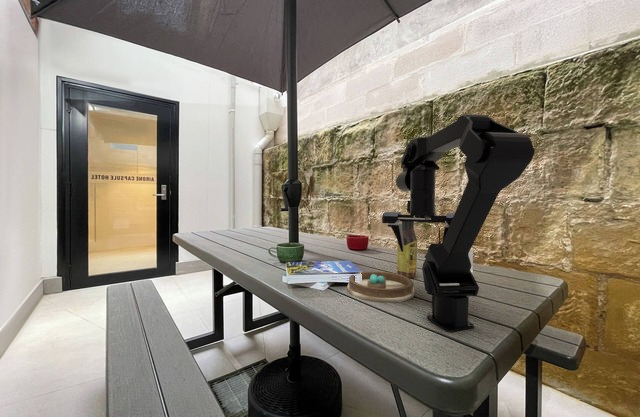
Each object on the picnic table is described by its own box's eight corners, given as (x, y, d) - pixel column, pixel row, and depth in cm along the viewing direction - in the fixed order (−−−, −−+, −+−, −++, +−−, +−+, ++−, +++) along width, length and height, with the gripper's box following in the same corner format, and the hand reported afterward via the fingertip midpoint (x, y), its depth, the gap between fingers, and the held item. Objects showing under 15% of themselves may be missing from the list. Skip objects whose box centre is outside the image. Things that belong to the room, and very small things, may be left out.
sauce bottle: (412, 279, 86) (413, 216, 85) (393, 276, 90) (394, 216, 89) (419, 275, 91) (420, 216, 90) (401, 272, 95) (401, 215, 94)
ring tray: (429, 297, 70) (429, 284, 70) (366, 306, 64) (366, 291, 64) (389, 278, 87) (390, 267, 87) (337, 283, 81) (337, 272, 81)
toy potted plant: (387, 293, 70) (388, 277, 70) (372, 295, 69) (372, 278, 69) (378, 288, 74) (379, 272, 74) (364, 289, 73) (364, 274, 73)
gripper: (463, 191, 71) (462, 251, 71) (390, 191, 79) (389, 245, 79) (466, 189, 61) (464, 259, 61) (382, 190, 68) (381, 252, 69)
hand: (421, 253), depth 68 cm, fingers open, 9 cm apart
